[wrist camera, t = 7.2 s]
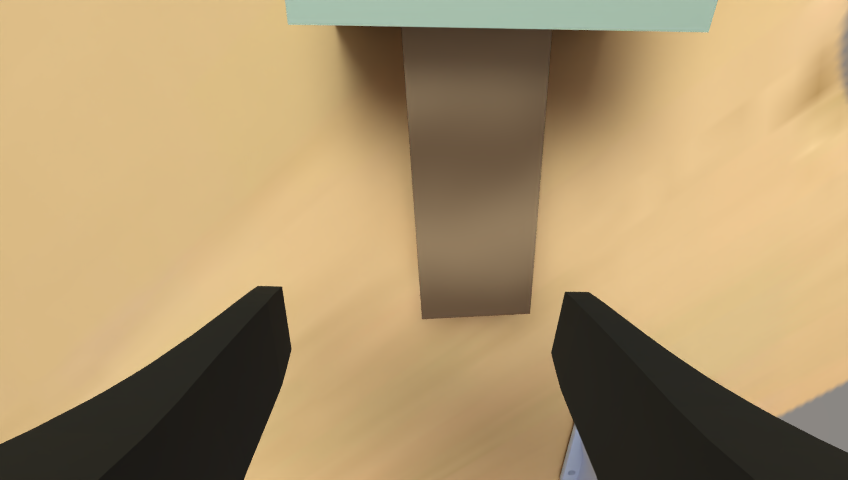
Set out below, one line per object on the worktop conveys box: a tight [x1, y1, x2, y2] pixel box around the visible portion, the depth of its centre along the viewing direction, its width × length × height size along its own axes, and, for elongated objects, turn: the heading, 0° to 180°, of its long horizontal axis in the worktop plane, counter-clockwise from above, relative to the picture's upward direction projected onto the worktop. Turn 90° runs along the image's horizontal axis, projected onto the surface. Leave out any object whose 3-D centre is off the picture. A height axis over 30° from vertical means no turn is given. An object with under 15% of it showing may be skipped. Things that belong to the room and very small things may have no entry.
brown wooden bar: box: [401, 27, 552, 319], centre depth 16 cm, size 14×4×4 cm, turn 3°
